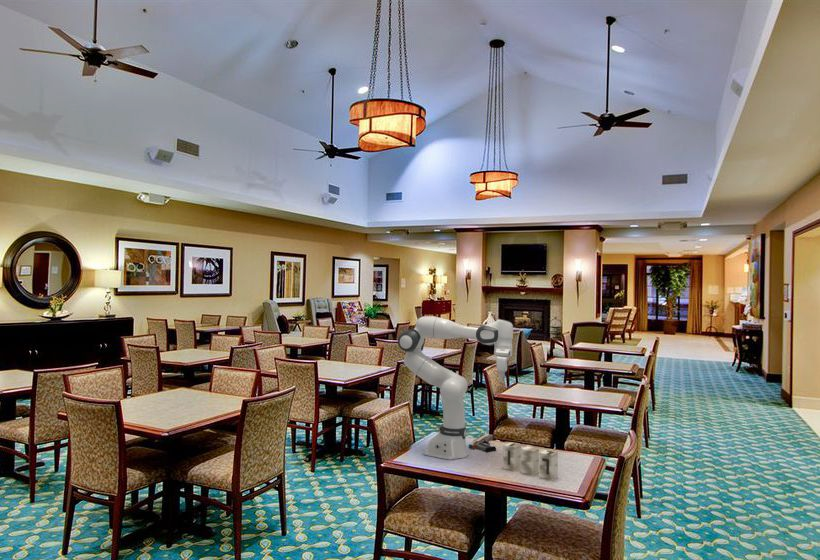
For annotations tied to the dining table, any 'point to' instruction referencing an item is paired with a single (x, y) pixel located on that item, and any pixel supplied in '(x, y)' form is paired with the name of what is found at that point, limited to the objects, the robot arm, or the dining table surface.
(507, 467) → the block one
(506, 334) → the robot arm
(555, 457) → the block seven
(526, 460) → the plain block
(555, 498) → the dining table surface
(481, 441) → the toy gun
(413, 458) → the dining table surface
